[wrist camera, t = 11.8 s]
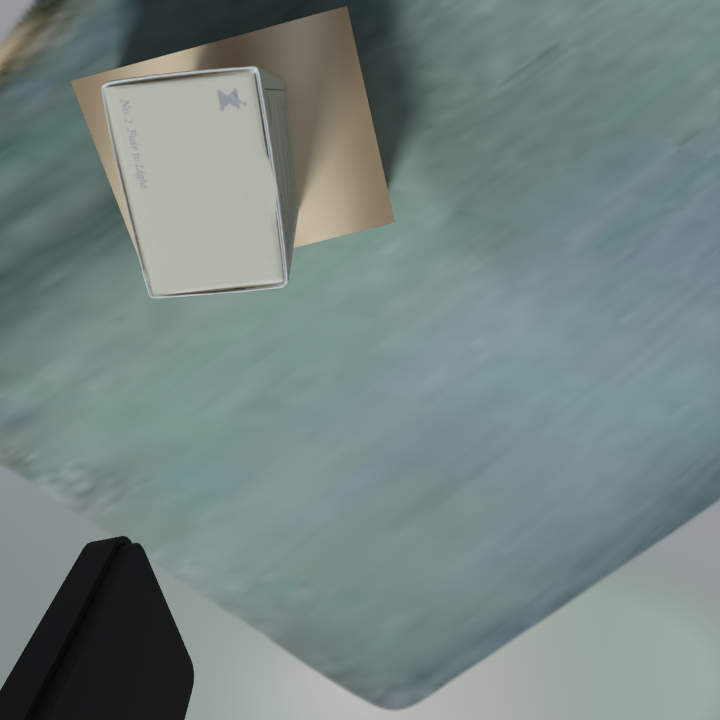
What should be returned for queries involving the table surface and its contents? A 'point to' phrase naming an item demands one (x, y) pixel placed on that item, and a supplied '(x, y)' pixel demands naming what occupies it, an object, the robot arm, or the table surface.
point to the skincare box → (206, 178)
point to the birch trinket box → (306, 117)
